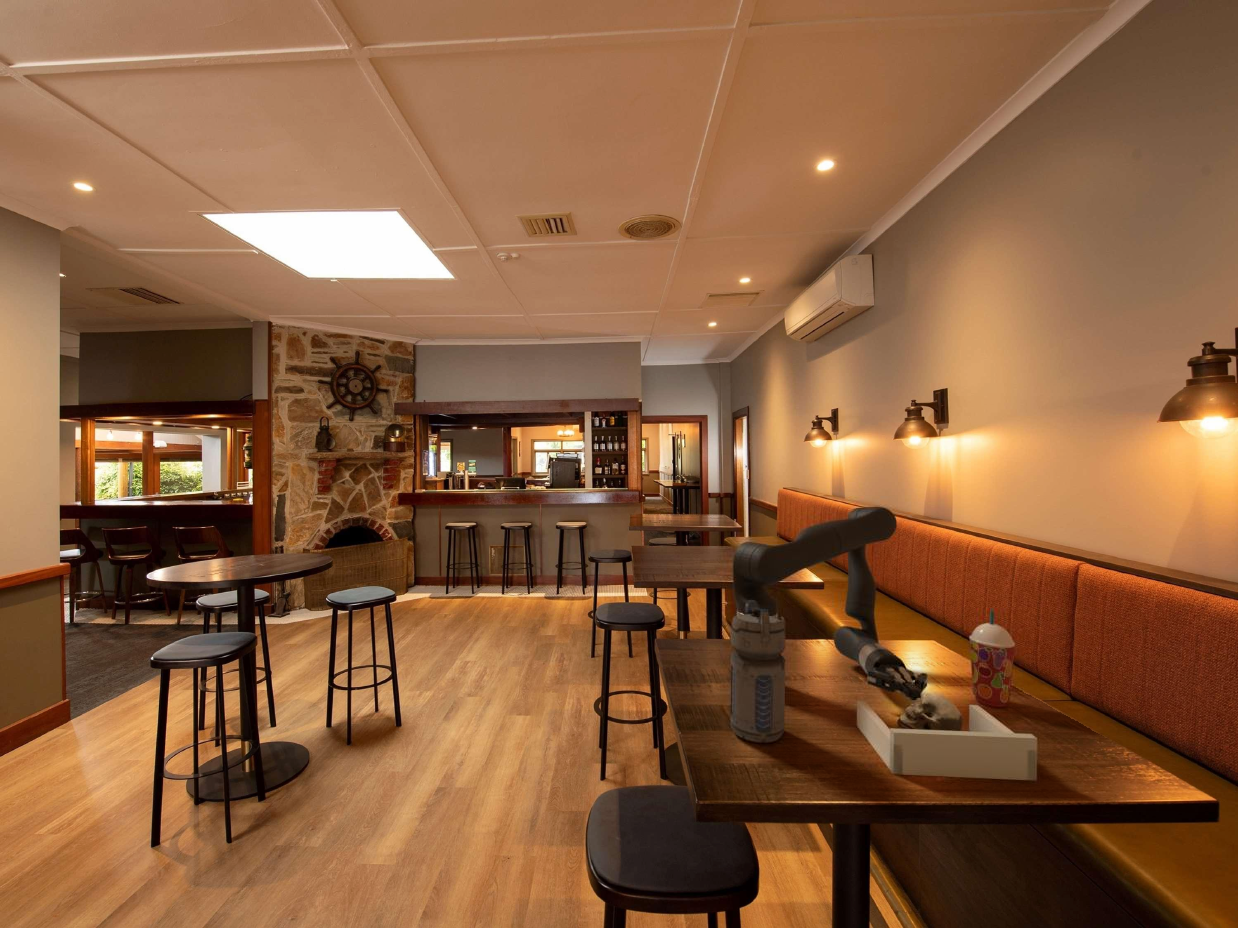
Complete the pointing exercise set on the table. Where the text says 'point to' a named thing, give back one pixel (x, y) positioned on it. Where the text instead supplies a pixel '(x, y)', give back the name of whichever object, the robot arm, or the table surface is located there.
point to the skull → (931, 714)
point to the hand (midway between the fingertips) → (916, 695)
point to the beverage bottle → (757, 675)
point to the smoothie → (991, 663)
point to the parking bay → (953, 748)
